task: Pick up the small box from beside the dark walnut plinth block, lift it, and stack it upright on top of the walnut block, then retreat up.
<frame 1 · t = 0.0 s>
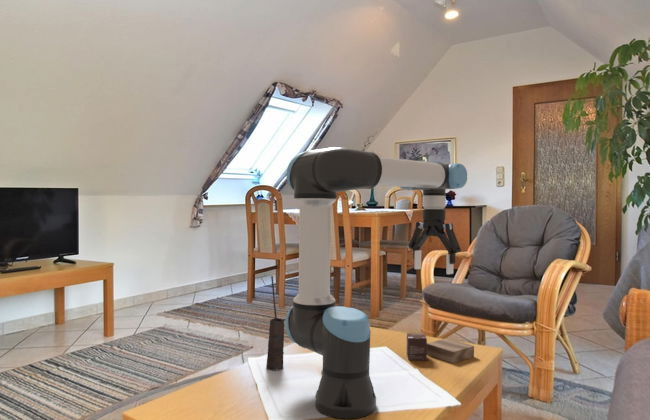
hand: (433, 271, 153), 28 cm above the table, fingers open, 13 cm apart
butter churn: (278, 368, 139), on the table
walnut block: (449, 356, 152), on the table
box: (416, 358, 150), on the table
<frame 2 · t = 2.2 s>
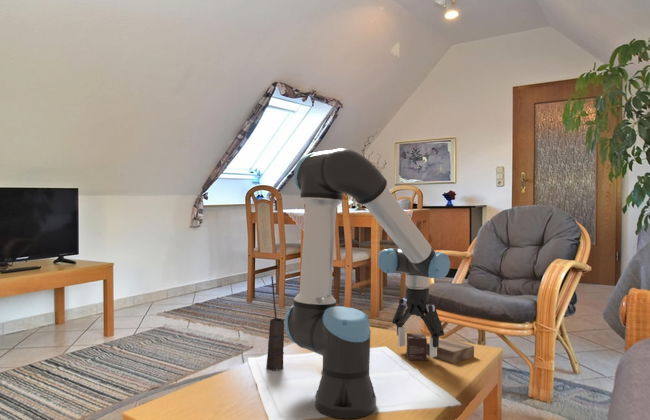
hand: (416, 351, 150), 2 cm above the table, fingers open, 13 cm apart
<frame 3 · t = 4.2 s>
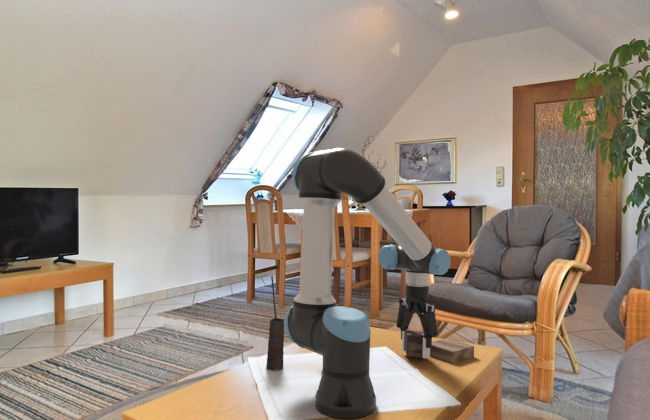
hand: (415, 353, 149), 1 cm above the table, fingers closed on box, 8 cm apart
box: (415, 355, 149), point 1 cm above the table, touching gripper
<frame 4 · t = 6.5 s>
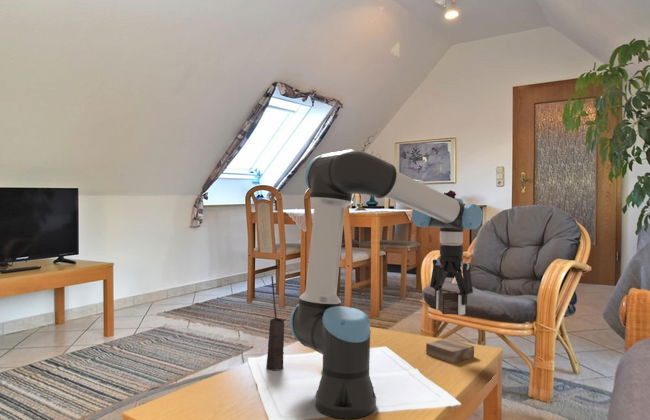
hand: (450, 311, 152), 15 cm above the table, fingers closed on box, 8 cm apart
box: (450, 313, 152), point 14 cm above the table, touching gripper
when the fingers open (6 cm above the table, at t = 8.8 s): box drops 2 cm, resting on walnut block.
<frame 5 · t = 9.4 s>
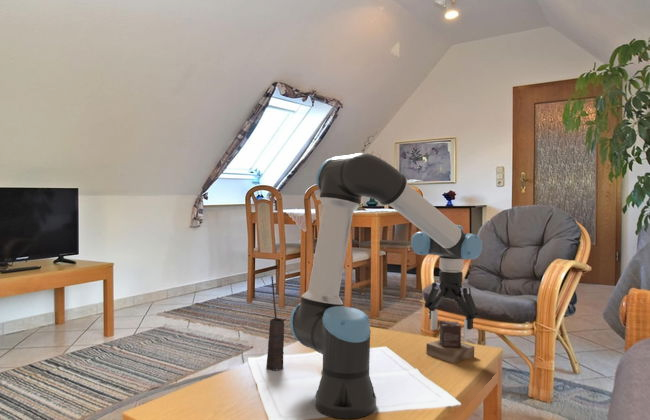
hand: (450, 333, 152), 7 cm above the table, fingers open, 13 cm apart
walnut block: (450, 356, 152), on the table, touching box
box: (450, 345, 152), point 3 cm above the table, touching walnut block
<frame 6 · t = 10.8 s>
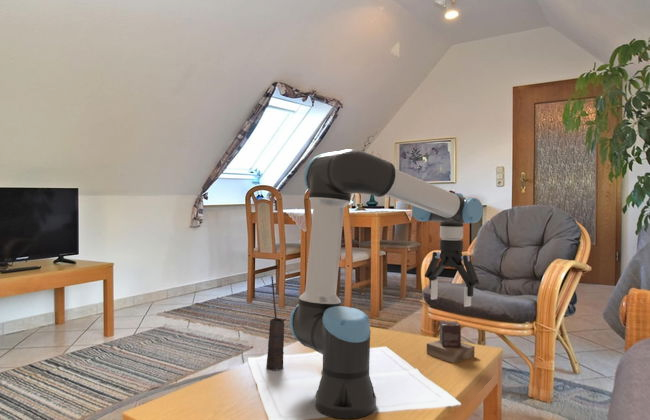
hand: (450, 302, 152), 18 cm above the table, fingers open, 13 cm apart
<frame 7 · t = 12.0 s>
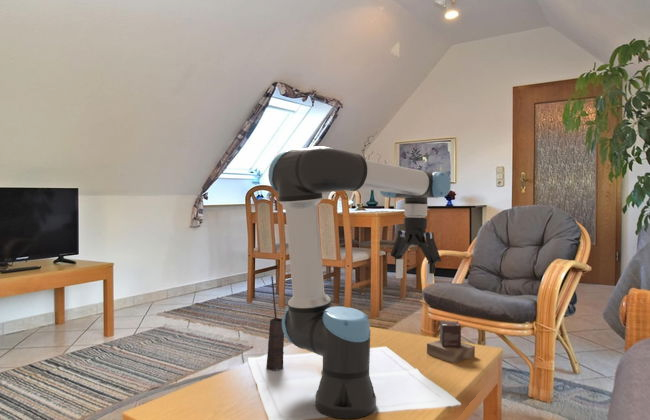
hand: (413, 280, 151), 25 cm above the table, fingers open, 13 cm apart
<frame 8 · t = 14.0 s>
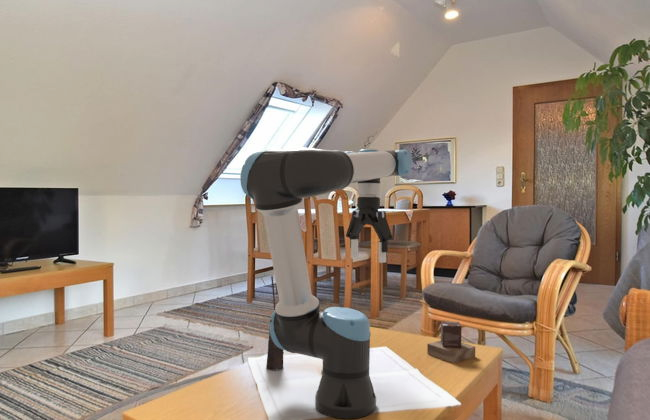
hand: (367, 260, 151), 32 cm above the table, fingers open, 13 cm apart
at the end: box 0.3 cm off-centre on the walnut block, point 3.8 cm above the walnut block's base; box tilted 0°; the gripper is holding nothing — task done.
